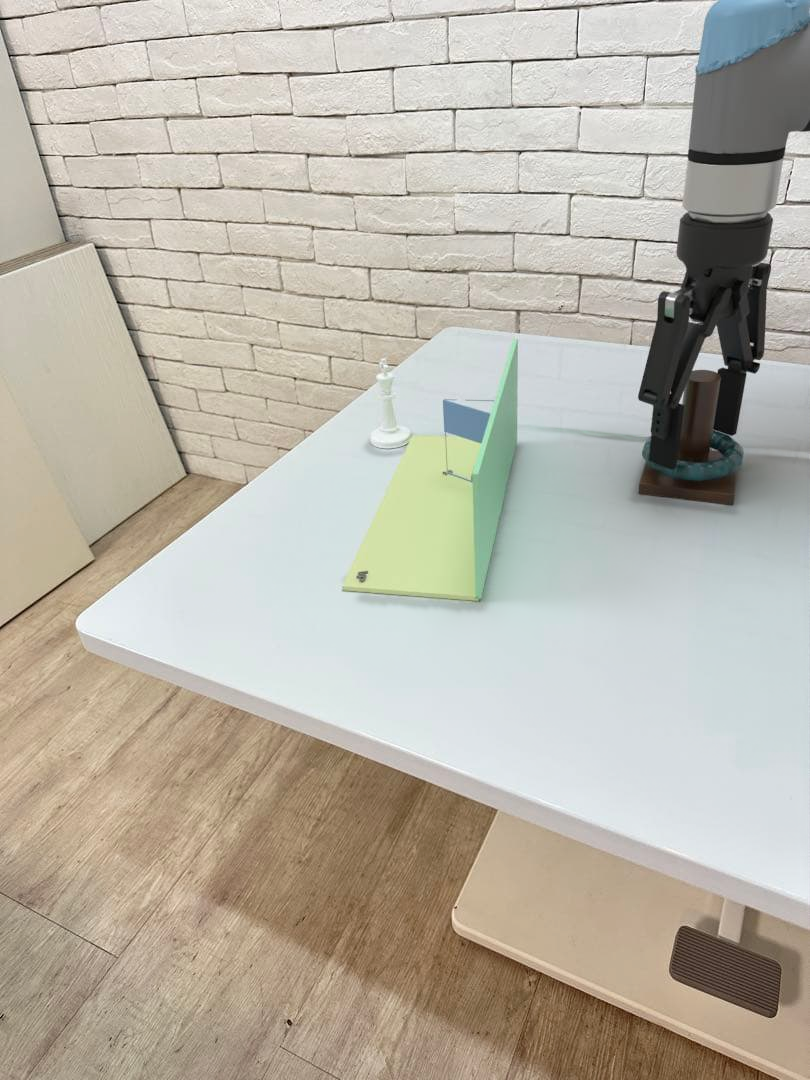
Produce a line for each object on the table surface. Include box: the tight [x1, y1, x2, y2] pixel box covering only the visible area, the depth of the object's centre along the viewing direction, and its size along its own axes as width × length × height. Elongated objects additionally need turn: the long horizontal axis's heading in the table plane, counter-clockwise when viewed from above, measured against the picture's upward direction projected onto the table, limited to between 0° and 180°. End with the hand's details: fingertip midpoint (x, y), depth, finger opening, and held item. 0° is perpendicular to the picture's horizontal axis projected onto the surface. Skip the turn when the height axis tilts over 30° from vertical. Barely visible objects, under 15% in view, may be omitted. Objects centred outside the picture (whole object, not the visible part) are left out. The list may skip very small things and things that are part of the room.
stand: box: [637, 369, 739, 506], centre depth 79 cm, size 9×9×11 cm
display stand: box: [341, 337, 519, 602], centre depth 78 cm, size 30×12×12 cm, turn 167°
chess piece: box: [369, 357, 412, 450], centre depth 92 cm, size 5×5×10 cm
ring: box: [641, 430, 744, 481], centre depth 81 cm, size 10×10×2 cm
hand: (693, 446), depth 81 cm, fingers closed on ring, 9 cm apart
